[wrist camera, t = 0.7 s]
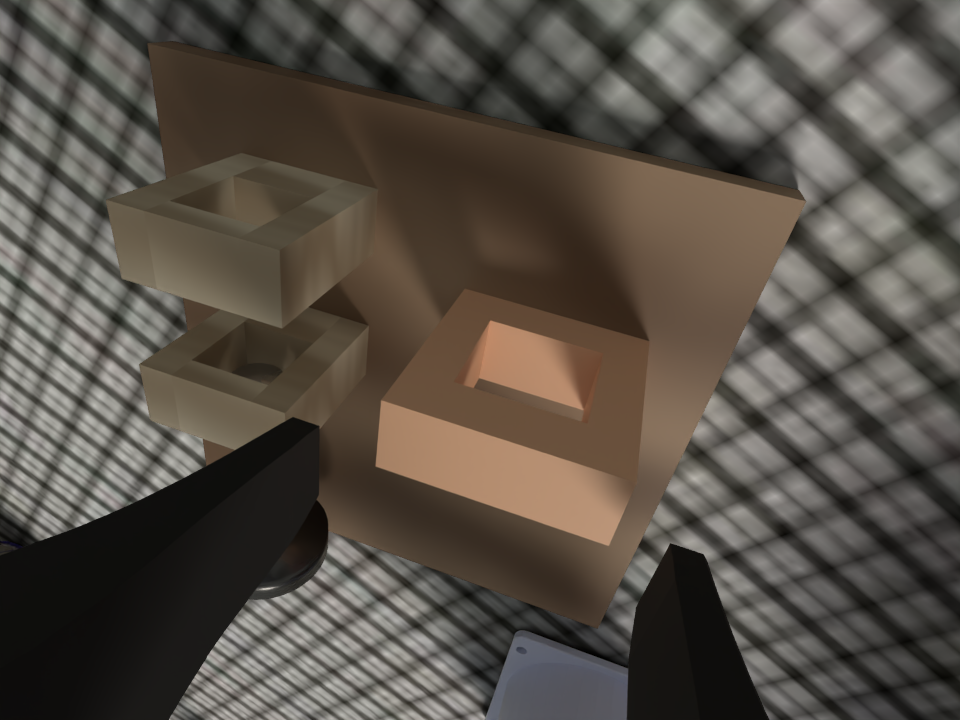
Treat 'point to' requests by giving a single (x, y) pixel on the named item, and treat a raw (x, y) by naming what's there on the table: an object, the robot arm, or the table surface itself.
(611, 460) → the spacer
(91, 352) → the table surface
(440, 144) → the cradle
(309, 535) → the shaft
